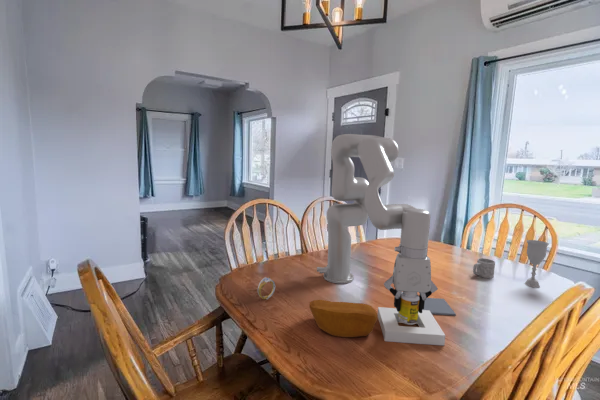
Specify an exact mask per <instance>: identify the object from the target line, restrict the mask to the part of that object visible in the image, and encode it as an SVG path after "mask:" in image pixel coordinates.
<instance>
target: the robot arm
mask: <svg viewBox="0 0 600 400" xmlns="http://www.w3.org/2000/svg"><path fill="white" fill-rule="evenodd" d="M330 147H331V149H330V153H331V160H332V181H331V182H332V183H331V184H332V185H331V196H332V198H333V199H334V200H335V201H338V202H350V201H351V202H352V201H353V202H352V203H337V204H332V205H329V207H328V208H327V211H326V221H327V231H328V232H327V233H328V236H327V237H328V238H327V239H328V240H327V241H328V242H327V264H326V266H324V267H323V266H322V267H321V266H317V267H316V272H319V274H323V279H324V280H325V281H327V282H329V283H333V284H338V285H339V284H343V285H344V284H348V283H351V282H353V281H354V278H355V276H354V275H353V273H351V259H352V256H351V255H352V236H351V233H350V232H349V230H348V228H350V227H357V226H364V225H365V224H366V223H367V221H368V220H370V223H371V224H372V225H373V227H374V228H376V229H378V230H379V231H388V230H389V231H390V230H397V229H398V230H400V241H399V242H400V243H399V245H398V246H394V252H398V253H397V254H396V256H395V260H394V265H393V270H392V275H391V276H390V277H389V278H388V279H387V280H386V281H384V282H383V286H384V287H385V288H386V289H387V290H388V291H389V293H390V294H392V295H393V297H394V299H393V306H394V307H393V308H396V309H397V311H398V312H399V311H400V306H401V299H400V295H401V293H402V292H403V291H405V292H417V293H418V295H419V297H420V299H419V310H418V311H419V313H422V309H424V303H425V300H426V299H427V298H430V296H431V295H432V294H434V293H435V292H437V290H438V289H439V288H438V287H437V285H436V284H435V283H434V282H433V280H432V265H431V258H430V257H429V256H428V249H429V248H428V247H429V238H430V229H431V228H430V227H431V226H430V225H431V214H430V211H428V210H426V209H421V208H416V207H415V206H413V205H411V204H408V203H399V204H398V203H397V204H394V203H393V204H383V202H382V199H381V197H380V193H379V190H380V188H382V187H384V186H385V185H386V184H388V183H390V182H391V181H392V180H393V179H394V177H395V171H394V169H393V167H392V164H391V163H392V162H394V161H396V160H397V158H398V156H399V146H398V144H397V142H396V141H395V140H394V139H392V138H390V137H384V136H383V137H382V136H379V135H373V134H356V133H345V134H344V133H343V134H339V135H336V137H334V139H333V141H332V142H331V146H330ZM351 158H359V160H360V163H361V164H362V167H363V170H364V173H365V174H366V177H367V179H366V178H364V177H356V176H355V171H356V170H355V164H354V162H353V160H352V159H351ZM392 285H393V286H394V287H393V286H392Z"/></svg>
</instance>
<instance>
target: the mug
mask: <svg viewBox="0 0 600 400" xmlns="http://www.w3.org/2000/svg"><path fill="white" fill-rule="evenodd" d="M495 266H496V261H495V260H493V259H490V258H484V257H480V258H477V262H476V263H475V264H473V268H472V273H473V274H474V275H477V277H481V278H484V279H486V278H487V279H492V278H494V275H495Z"/></svg>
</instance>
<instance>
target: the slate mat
mask: <svg viewBox="0 0 600 400" xmlns="http://www.w3.org/2000/svg"><path fill="white" fill-rule="evenodd" d="M422 310H430V312H431V314H432V315H436V316H437V315H440V316H452V317H453V316H454V317H455V316H456V315H457V313H456V312H455V310H454V309H453V308H452V307H451V306H450V305H449V303H448V302H447V301H446V300H445V299H444V298H441V297H440V298H434V297H428V298H427V299H426V300H425V303H424V309H422Z"/></svg>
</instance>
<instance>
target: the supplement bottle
mask: <svg viewBox="0 0 600 400" xmlns="http://www.w3.org/2000/svg"><path fill="white" fill-rule="evenodd" d="M419 295H420V294H419V293H418V292H405V291H402V293H401V295H400V299H401V306H400V311H399V312H398V319H399V320H400V321H401V322H402V324H405V325H409V326H410V325H411V326H413V325H415V324H416V323H417V320H418V310H419V299H420V297H419ZM416 325H417V324H416Z"/></svg>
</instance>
